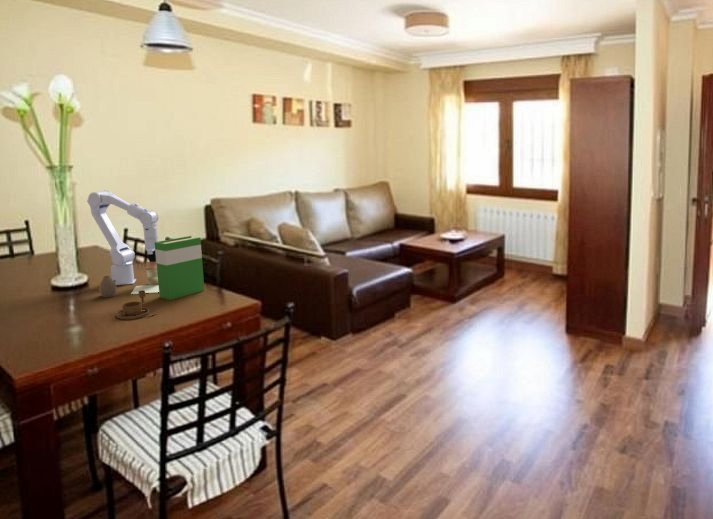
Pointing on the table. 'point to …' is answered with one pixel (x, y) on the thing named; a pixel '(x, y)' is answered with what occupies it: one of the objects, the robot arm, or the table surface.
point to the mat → (146, 289)
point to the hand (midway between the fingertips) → (153, 266)
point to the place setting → (133, 308)
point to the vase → (107, 287)
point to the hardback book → (179, 267)
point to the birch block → (152, 273)
